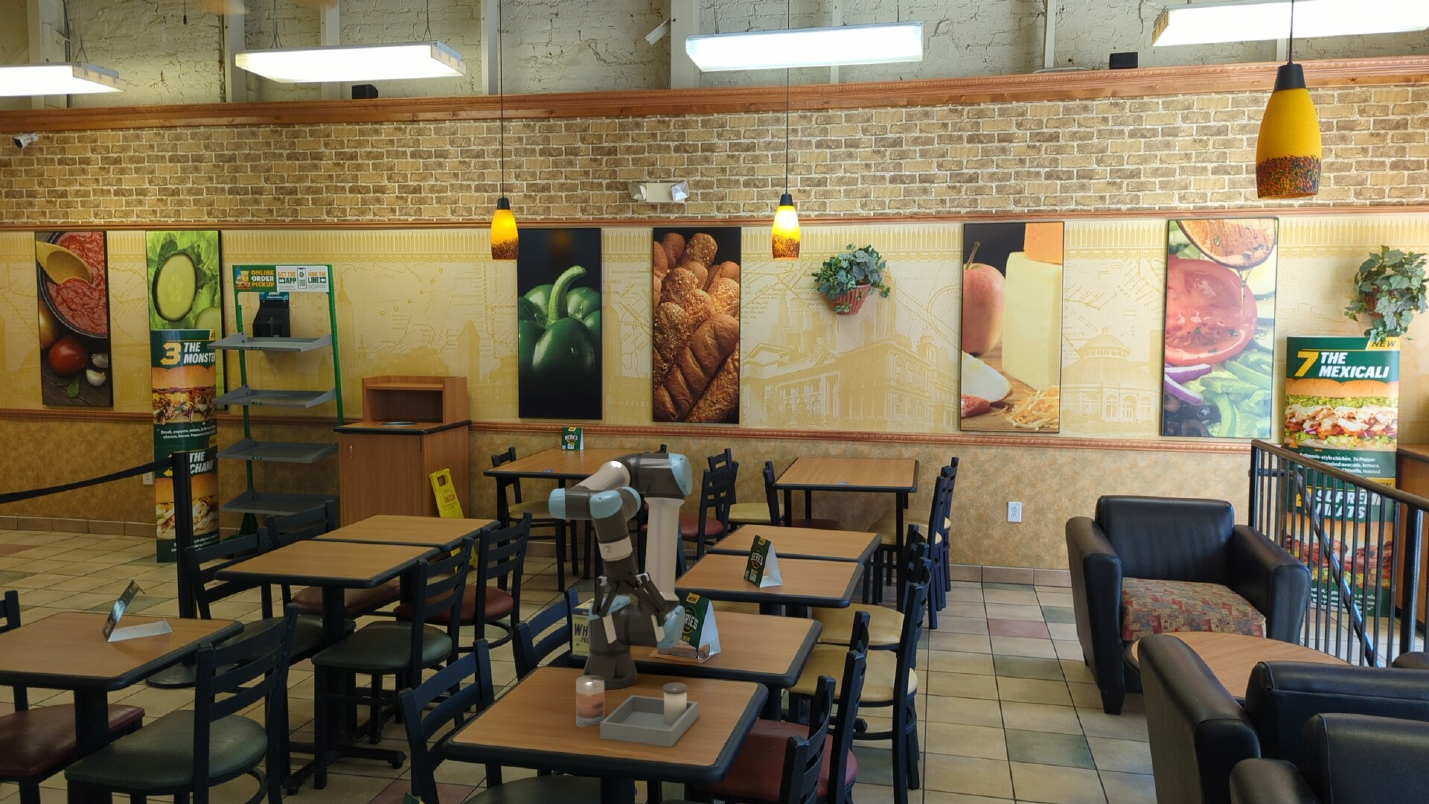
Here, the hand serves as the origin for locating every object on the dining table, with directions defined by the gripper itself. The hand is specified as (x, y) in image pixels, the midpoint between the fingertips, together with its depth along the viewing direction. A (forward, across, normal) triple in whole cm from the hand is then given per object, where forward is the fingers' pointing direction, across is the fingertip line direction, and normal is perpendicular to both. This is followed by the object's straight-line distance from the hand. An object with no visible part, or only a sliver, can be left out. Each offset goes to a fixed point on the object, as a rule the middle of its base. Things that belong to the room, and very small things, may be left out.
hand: (636, 640), depth 238 cm
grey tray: (+23, -2, 0) cm, 23 cm away
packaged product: (+29, -22, +56) cm, 67 cm away
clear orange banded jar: (+21, -17, -2) cm, 27 cm away
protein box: (+24, -46, +48) cm, 70 cm away
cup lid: (+16, +3, +7) cm, 18 cm away
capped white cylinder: (+24, +2, +6) cm, 25 cm away
